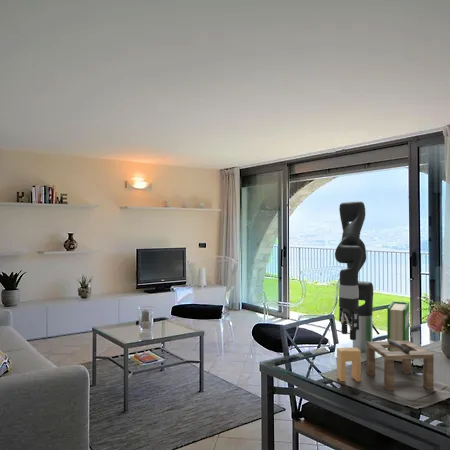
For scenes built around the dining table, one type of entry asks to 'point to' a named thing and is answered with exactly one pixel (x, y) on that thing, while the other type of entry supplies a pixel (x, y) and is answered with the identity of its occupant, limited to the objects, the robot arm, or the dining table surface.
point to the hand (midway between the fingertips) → (348, 336)
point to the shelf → (406, 355)
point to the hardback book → (398, 323)
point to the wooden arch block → (346, 356)
